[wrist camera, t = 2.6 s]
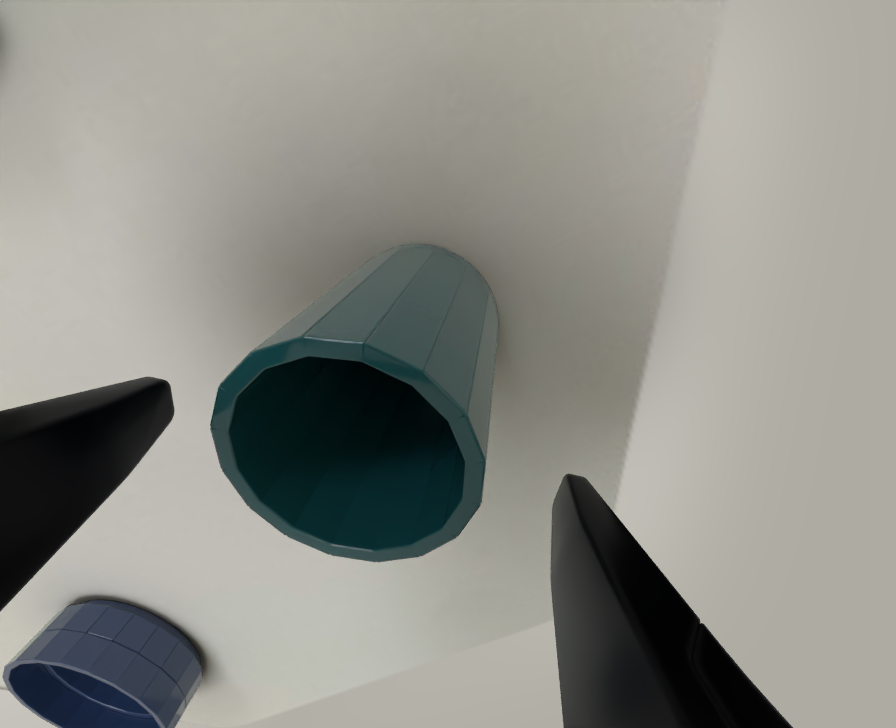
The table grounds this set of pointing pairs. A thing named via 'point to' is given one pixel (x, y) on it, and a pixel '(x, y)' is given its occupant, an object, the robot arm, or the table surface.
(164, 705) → the bowl
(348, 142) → the table surface
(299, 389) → the cup
